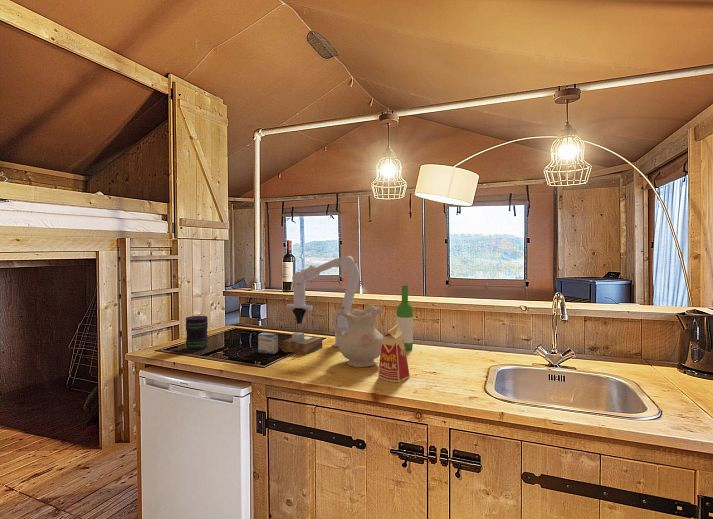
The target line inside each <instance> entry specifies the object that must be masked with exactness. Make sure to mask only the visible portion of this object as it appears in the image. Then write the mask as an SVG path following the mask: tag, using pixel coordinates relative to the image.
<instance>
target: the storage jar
mask: <svg viewBox="0 0 713 519" xmlns="http://www.w3.org/2000/svg"><path fill="white" fill-rule="evenodd" d="M208 325H209V324H208V316H207V315H193V316H191V315H190V316H187V317H186V318H185V330H186V338H185V347H186V348H185V351H186V352H200V351H205V350H208V348H209V347H208V346H209V339H208V338H209V337H208V328H209V326H208Z"/></svg>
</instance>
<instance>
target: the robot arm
mask: <svg viewBox="0 0 713 519" xmlns="http://www.w3.org/2000/svg"><path fill="white" fill-rule="evenodd" d="M332 268H341V269H342V270H343V271H345V272H346V273H347V275H348V277H349V278H348V282H347V285H346V288H345V292H344V296H343V299H342V302H341V303H342V304H341V306H345V307H344V309H345V311H346V313H348V314H351V310H352V309H351V308H352V304H353V300H354V298H355V294H356V290H357V286H358V284H359V280H360V277H361V276H360V275H361V273H360V270H359V267H358V263H357V261H356V259H355V258H354V257H353V256H352V255H345V256H342V257H337V258H334V259H331V260H329V261H328V262H324V263H323V264H321V265H309V266H308V267H307V268H305V269H300V271H296V272H295V273H293V275H292V277H291V278H292V279H291V280H292V281H293V303H287V304H286V309H292V314H294V317H295V320H296V323H297V324H298V325H301V324H303V320H304V316H305V314H306V312H307V310H308V311H313V310H314V309H313V308H314V306H313V305H309V304H306V282H307V281H310V280H312V279H315V278H317V277H319V276H320V275H321V273H322V272H325V271H327V270H330V269H332ZM338 325H339V328H340V331H341V334H342V333H343V332H344V331H345V330H346V329H347V326H348V323H347V319H346V317H344V316H343V315H339V316H338ZM334 333H335V334H334V335H335V337H334V339H335V343H332V344H331V347H336V348H337V347H338V348H339V344H338V335H337V333H336V331H335V330H334Z"/></svg>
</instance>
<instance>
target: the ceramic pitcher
mask: <svg viewBox="0 0 713 519" xmlns="http://www.w3.org/2000/svg"><path fill="white" fill-rule="evenodd" d="M344 307H345V306H342V305H340V306H339V305H338V306H337V307H335V308H336V309H335V310H334V311H333V314H332V325H333V328H334V332H335V331H336V333H337V335H338V344H339V347H338V348H339V352H340V354H341V355H342V356H343V357H344V358H345V359H347V360H348V361H347V362H346V365H348V366H350V367H353V368H354V367H355V368H360V369H361V368H364V367H365V368H366V367H373V366H376V365H379V363H378V362H376V361H375V359H378V358H380V353H381V346H382V340H383V336H384V335H383V334H382V333H381V332H380V331H379V330H377V328H376V327H375V324H376V323H375V322H376V319H377V317H378V316H379V315H380V314H382V313H383V307H382V306H379V305H377V306H375V305H372V304H369V305H367V306H366V307H364V308H363V309H357V308H355V309H353V310H352V311H350V314H348V313H346V311H345V309H344ZM339 315H343V316H344V317H346V319H347V323H348V326H347V329H346V330H345V331H344V332H343V333H342V334H341V331H340V328H339V325H338V316H339Z"/></svg>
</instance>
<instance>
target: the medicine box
mask: <svg viewBox="0 0 713 519" xmlns="http://www.w3.org/2000/svg"><path fill="white" fill-rule="evenodd" d="M278 336H279V334H278V333H272V332H261V333H259V334H258V336H257V338H258V342H257V343H258V347H257V348H258V350H257V352H258V353H259V354H267V353H269V355H270V354H271V355H274V354H277V353H278V352H279V349H278V348H279V344H278V343H279V342H278V341H279V338H278Z"/></svg>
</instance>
